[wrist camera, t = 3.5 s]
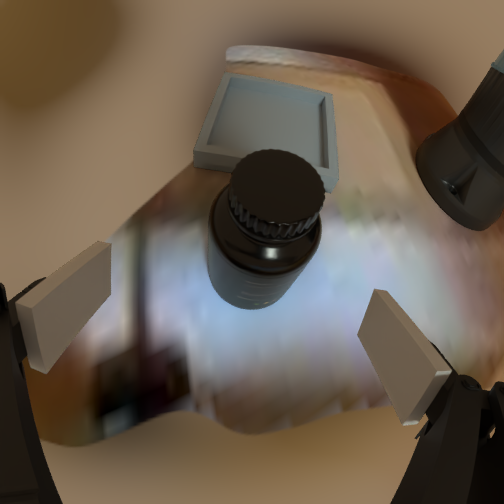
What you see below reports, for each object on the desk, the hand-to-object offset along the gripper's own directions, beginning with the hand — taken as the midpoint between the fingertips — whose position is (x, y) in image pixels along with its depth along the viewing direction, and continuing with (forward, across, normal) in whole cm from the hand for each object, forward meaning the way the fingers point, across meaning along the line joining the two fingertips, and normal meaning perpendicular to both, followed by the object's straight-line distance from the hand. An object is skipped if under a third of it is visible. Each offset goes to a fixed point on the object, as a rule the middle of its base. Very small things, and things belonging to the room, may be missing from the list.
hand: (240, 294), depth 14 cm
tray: (+23, +1, +9) cm, 25 cm away
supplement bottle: (+11, +1, -3) cm, 11 cm away
